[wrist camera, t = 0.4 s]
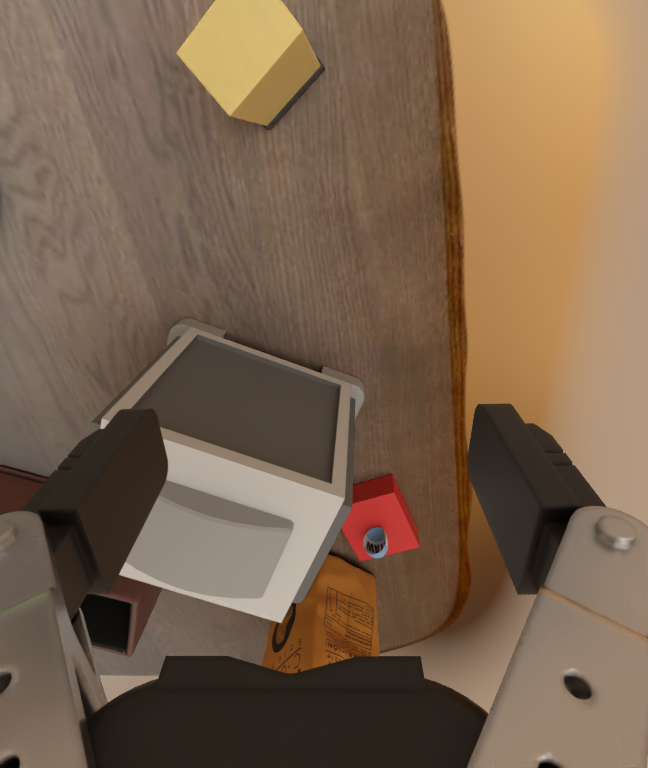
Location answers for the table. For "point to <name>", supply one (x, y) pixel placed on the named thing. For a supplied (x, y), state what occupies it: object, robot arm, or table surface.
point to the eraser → (251, 58)
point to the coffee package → (327, 621)
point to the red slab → (379, 520)
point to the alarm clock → (242, 470)
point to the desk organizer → (101, 611)
